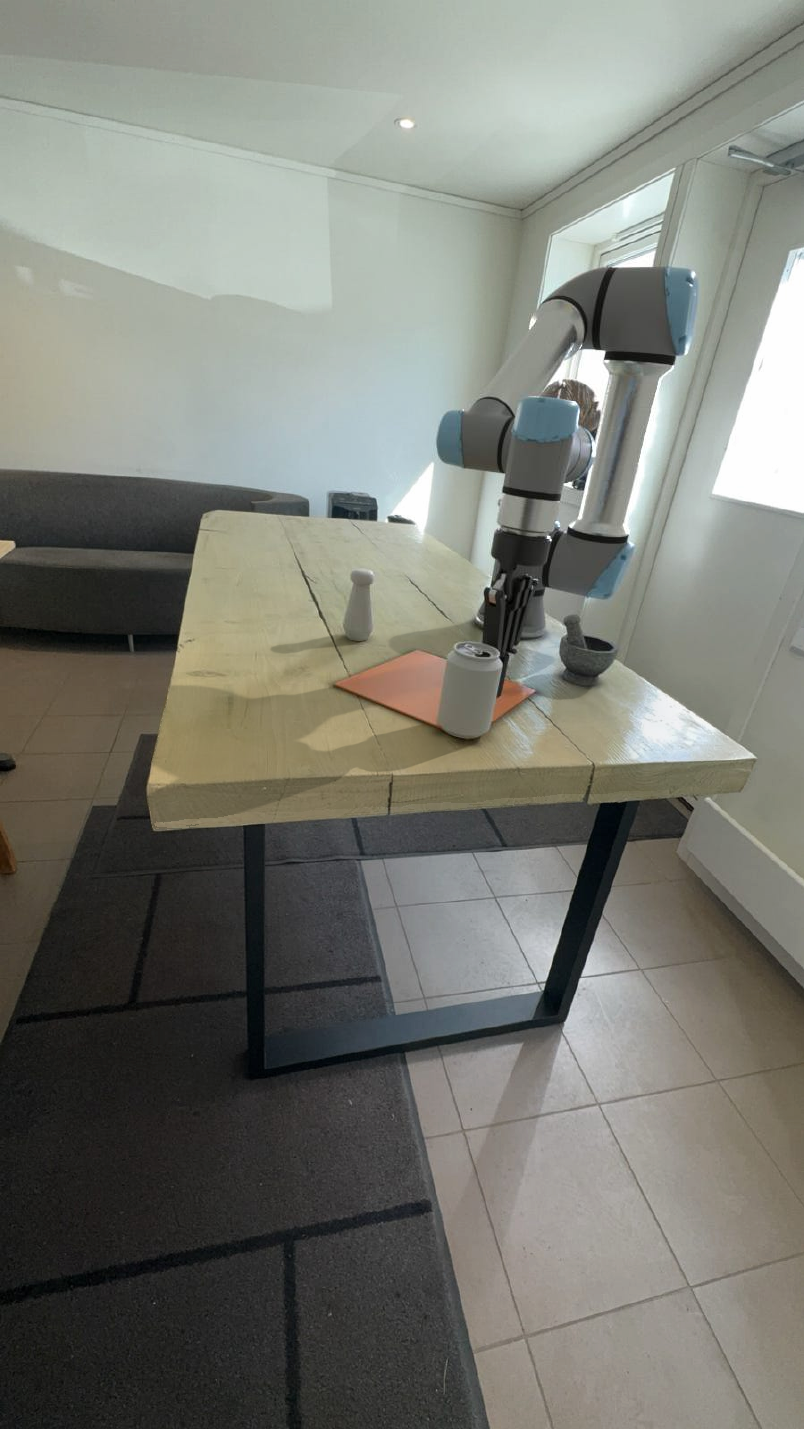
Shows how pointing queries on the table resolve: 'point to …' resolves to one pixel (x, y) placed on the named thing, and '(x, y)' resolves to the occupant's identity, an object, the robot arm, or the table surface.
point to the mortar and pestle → (584, 654)
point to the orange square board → (419, 687)
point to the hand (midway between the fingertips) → (490, 693)
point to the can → (469, 689)
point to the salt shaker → (359, 606)
